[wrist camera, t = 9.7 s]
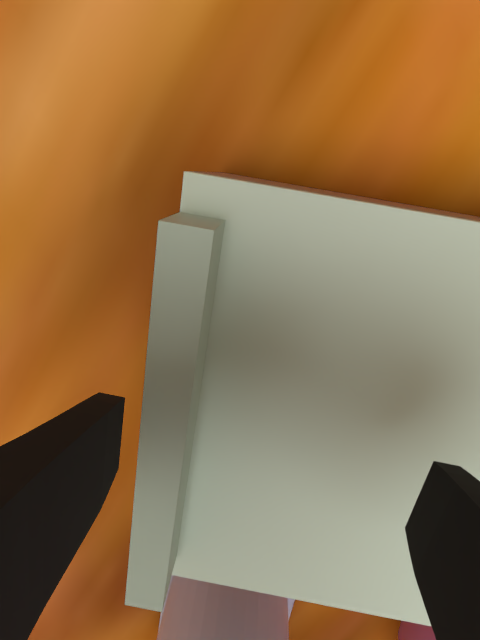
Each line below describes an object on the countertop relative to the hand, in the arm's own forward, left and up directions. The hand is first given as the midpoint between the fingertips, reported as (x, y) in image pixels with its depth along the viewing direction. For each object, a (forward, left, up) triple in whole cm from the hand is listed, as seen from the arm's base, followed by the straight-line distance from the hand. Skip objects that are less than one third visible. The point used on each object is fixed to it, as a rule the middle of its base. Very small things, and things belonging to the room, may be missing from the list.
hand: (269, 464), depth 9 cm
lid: (-1, -3, -4) cm, 5 cm away
